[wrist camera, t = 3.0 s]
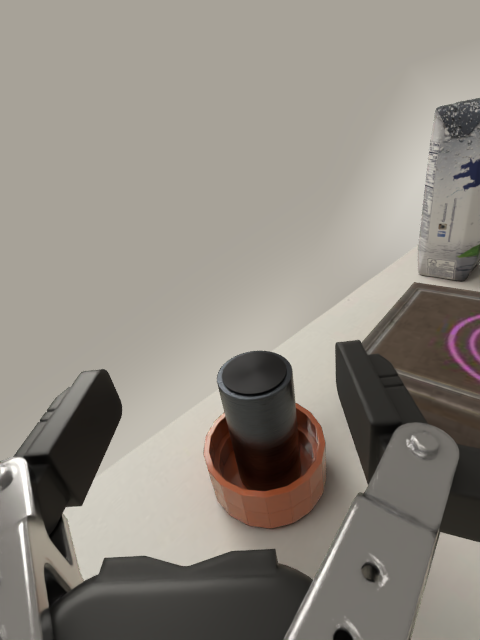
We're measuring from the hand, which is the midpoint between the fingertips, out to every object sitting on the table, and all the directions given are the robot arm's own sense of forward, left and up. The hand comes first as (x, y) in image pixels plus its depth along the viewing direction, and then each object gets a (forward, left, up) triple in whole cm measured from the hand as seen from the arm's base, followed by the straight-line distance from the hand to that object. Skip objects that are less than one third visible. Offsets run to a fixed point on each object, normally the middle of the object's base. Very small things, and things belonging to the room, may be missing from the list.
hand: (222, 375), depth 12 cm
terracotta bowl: (-3, +10, -20) cm, 22 cm away
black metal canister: (-3, +10, -19) cm, 22 cm away
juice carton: (+15, +57, -20) cm, 62 cm away
